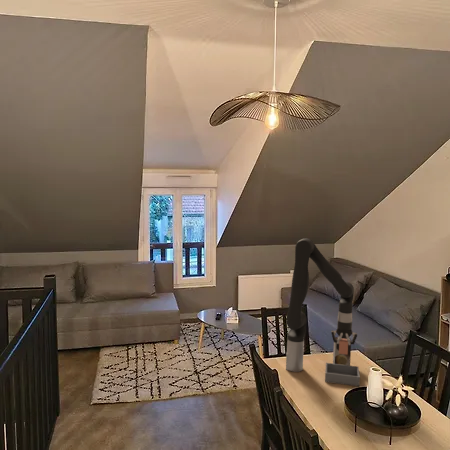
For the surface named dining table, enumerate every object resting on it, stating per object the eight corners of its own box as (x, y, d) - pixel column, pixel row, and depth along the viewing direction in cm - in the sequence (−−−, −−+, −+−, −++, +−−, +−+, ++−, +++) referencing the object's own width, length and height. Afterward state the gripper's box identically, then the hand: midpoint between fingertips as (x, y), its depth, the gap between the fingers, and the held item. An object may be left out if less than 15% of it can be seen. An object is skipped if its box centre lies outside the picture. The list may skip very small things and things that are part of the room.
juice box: (338, 353, 235) (339, 341, 234) (338, 350, 239) (339, 338, 238) (347, 354, 234) (348, 341, 233) (347, 351, 238) (347, 338, 237)
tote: (324, 381, 234) (325, 373, 233) (325, 371, 247) (325, 362, 246) (359, 386, 229) (359, 377, 229) (357, 375, 242) (358, 366, 242)
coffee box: (348, 363, 257) (349, 337, 255) (350, 368, 251) (351, 341, 249) (332, 362, 258) (333, 336, 256) (334, 367, 252) (335, 340, 250)
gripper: (331, 320, 232) (329, 351, 234) (359, 323, 229) (357, 354, 231) (331, 316, 240) (329, 346, 242) (358, 319, 236) (356, 349, 238)
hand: (343, 350), depth 236 cm, fingers closed on juice box, 4 cm apart
